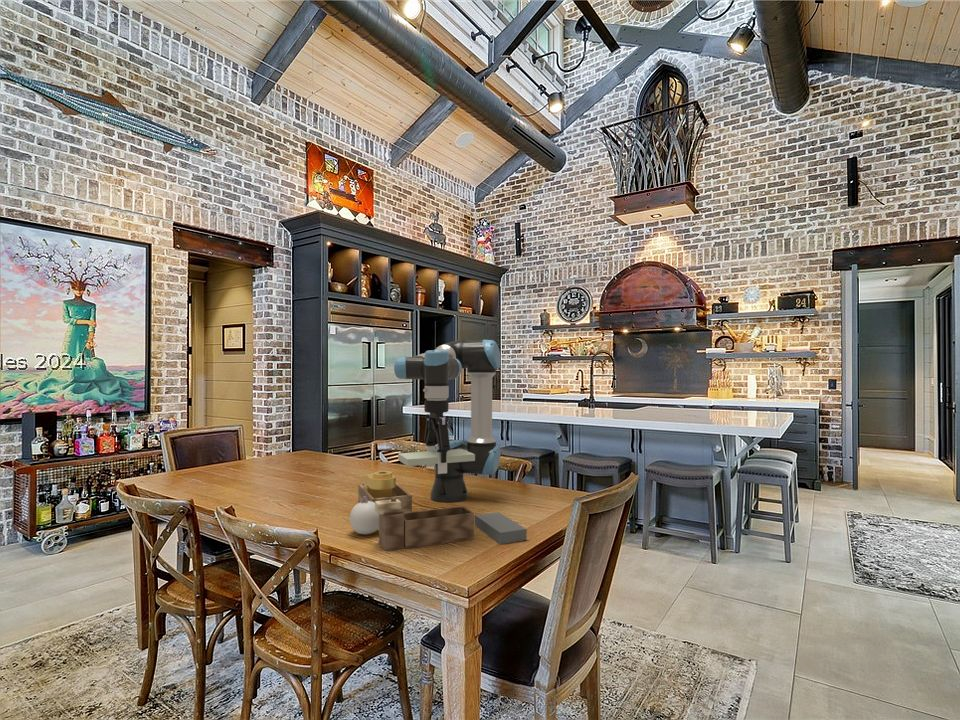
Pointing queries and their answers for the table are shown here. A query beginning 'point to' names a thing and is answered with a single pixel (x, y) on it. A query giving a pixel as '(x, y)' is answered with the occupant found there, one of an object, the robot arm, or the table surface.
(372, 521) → the ornament
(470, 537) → the toolbox
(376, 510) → the beige notched block
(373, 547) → the table surface
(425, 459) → the lid
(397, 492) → the box
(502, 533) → the block
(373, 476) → the tan round stepped piece
